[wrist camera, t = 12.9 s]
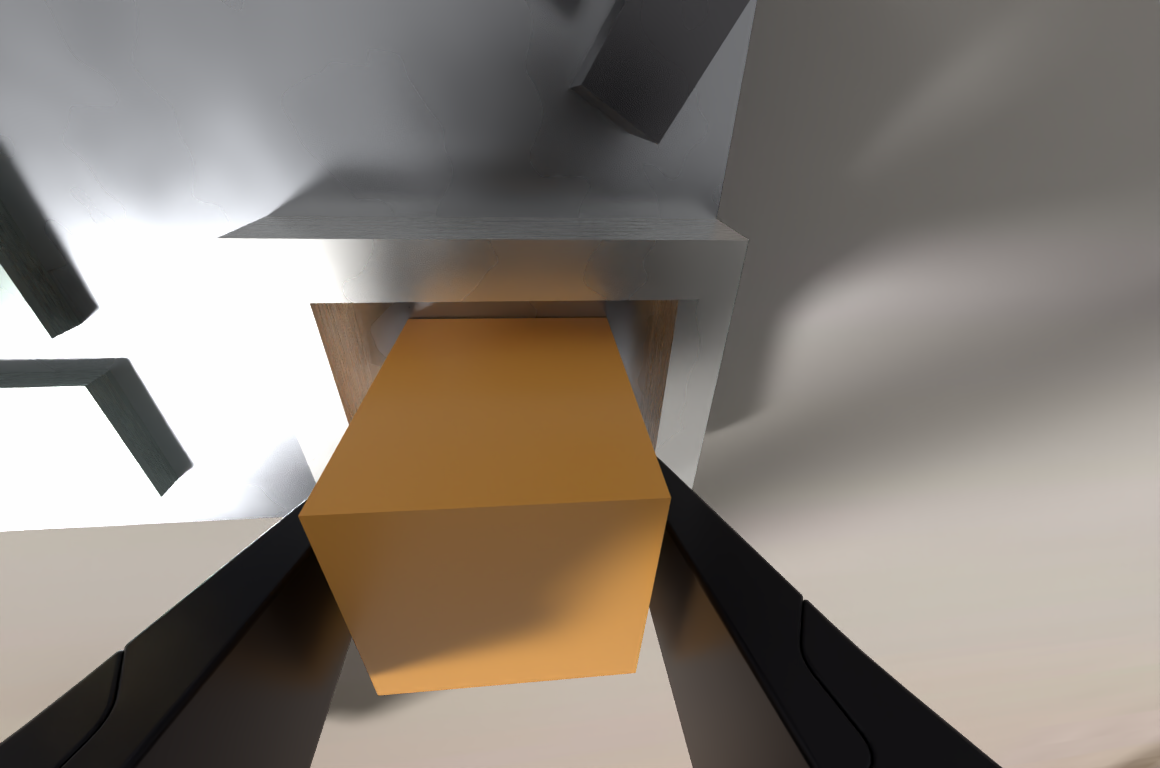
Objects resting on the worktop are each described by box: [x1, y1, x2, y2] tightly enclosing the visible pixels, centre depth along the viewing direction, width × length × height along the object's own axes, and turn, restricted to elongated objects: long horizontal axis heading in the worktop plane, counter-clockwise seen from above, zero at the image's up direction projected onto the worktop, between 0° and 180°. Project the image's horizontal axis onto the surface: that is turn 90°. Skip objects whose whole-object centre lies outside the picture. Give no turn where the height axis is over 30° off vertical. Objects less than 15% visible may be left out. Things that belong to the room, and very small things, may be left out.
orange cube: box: [298, 318, 671, 696], centre depth 8 cm, size 4×4×5 cm
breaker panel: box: [0, 0, 757, 531], centre depth 8 cm, size 16×17×4 cm
